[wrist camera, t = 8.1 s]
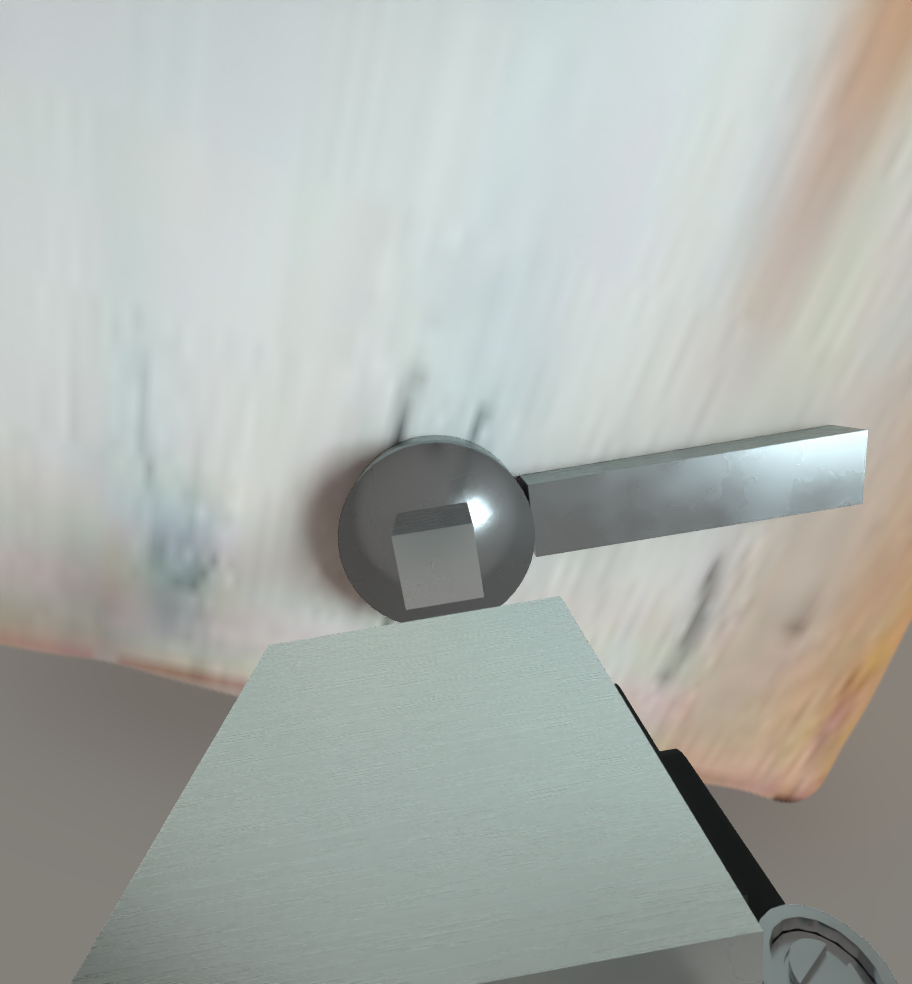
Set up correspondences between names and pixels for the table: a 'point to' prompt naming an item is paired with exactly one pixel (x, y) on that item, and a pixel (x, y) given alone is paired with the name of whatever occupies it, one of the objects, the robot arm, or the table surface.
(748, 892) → the robot arm
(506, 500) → the ratchet
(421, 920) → the brushed grey cube
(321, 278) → the table surface
